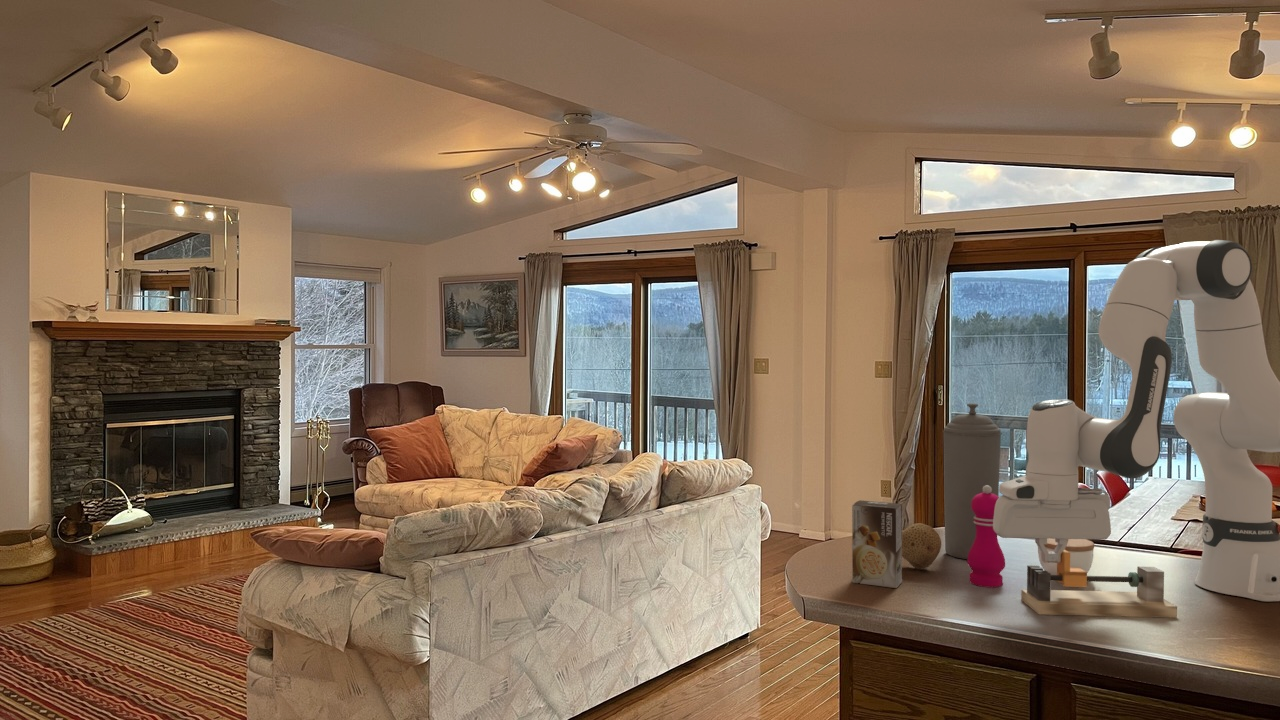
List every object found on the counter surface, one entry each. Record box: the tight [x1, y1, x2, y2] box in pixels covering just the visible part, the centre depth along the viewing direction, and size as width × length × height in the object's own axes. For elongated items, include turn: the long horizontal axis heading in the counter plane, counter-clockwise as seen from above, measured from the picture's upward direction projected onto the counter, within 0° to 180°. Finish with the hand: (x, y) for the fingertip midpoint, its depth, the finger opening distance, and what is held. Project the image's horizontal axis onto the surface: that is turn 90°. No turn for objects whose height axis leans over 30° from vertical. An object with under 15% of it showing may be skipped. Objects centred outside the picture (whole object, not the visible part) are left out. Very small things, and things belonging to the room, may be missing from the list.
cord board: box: [1020, 564, 1178, 618], centre depth 166 cm, size 24×9×8 cm, turn 86°
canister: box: [942, 402, 1003, 560], centre depth 206 cm, size 13×13×35 cm
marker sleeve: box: [1056, 550, 1088, 588], centre depth 166 cm, size 4×3×6 cm
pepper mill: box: [966, 485, 1006, 588], centre depth 182 cm, size 7×7×20 cm
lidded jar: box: [1037, 539, 1095, 575], centre depth 187 cm, size 11×11×9 cm
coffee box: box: [851, 500, 903, 589], centre depth 183 cm, size 9×6×16 cm
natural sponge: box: [902, 522, 942, 570], centre depth 193 cm, size 9×9×10 cm
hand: (1050, 562), depth 166 cm, fingers closed
